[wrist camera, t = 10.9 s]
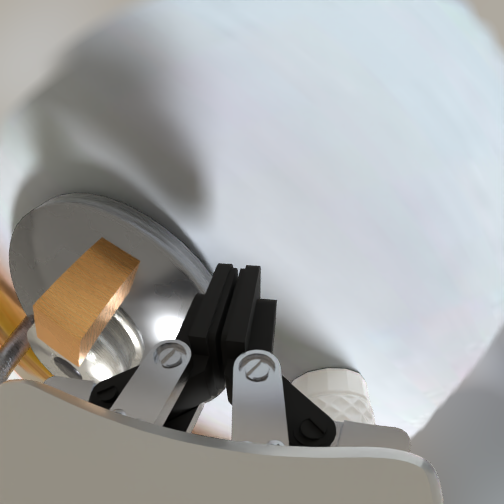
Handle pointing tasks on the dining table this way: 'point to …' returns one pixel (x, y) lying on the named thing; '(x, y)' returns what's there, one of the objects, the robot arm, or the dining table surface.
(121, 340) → the cover
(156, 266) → the turntable
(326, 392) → the white cup
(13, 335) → the dial post
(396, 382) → the dining table surface
